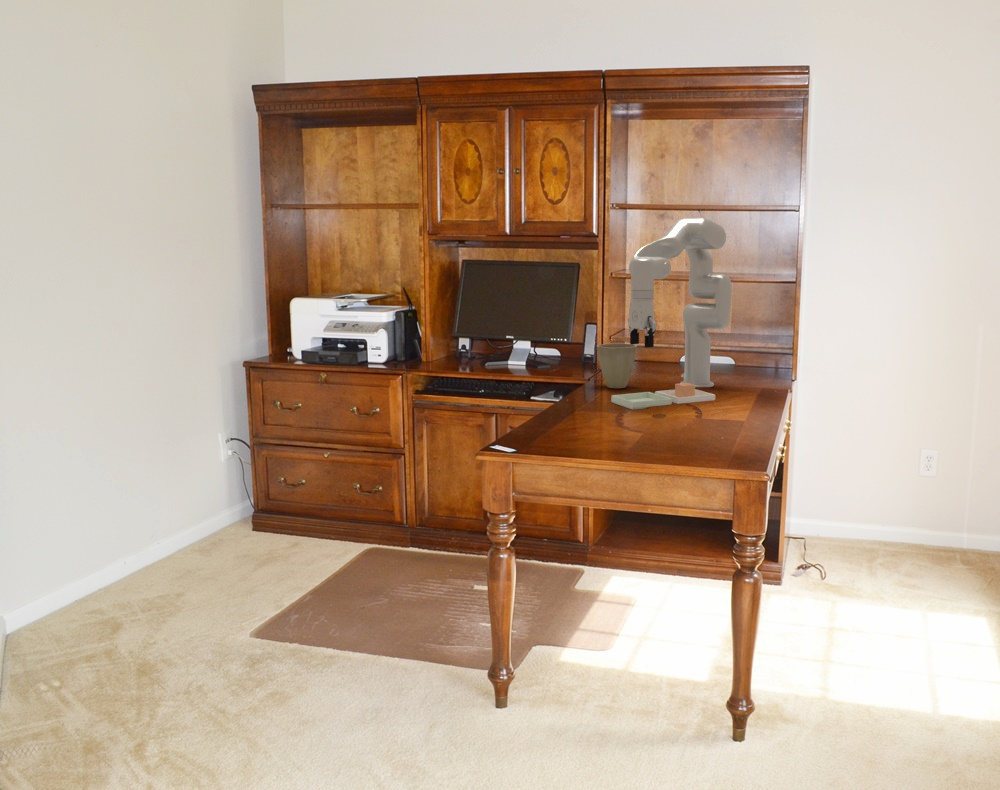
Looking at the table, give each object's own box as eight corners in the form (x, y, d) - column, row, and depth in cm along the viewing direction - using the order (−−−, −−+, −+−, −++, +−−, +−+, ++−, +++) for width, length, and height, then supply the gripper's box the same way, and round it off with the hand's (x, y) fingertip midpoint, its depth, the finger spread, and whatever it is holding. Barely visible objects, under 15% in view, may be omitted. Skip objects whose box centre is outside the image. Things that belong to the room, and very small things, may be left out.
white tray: (655, 398, 338) (655, 391, 337) (691, 394, 343) (691, 388, 343) (677, 405, 324) (678, 398, 324) (715, 401, 330) (715, 394, 329)
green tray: (611, 402, 332) (611, 395, 331) (648, 398, 337) (649, 391, 337) (632, 409, 318) (632, 402, 317) (671, 406, 323) (671, 398, 323)
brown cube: (674, 397, 335) (675, 383, 334) (686, 396, 337) (687, 382, 336) (682, 400, 330) (682, 385, 330) (694, 398, 332) (695, 384, 331)
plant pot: (643, 386, 363) (644, 344, 361) (621, 391, 352) (621, 348, 350) (611, 382, 373) (612, 342, 370) (589, 387, 362) (589, 346, 360)
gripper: (620, 294, 327) (619, 343, 330) (645, 297, 312) (645, 349, 315) (639, 293, 330) (638, 342, 333) (665, 296, 314) (664, 347, 317)
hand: (641, 345), depth 324 cm, fingers open, 9 cm apart
